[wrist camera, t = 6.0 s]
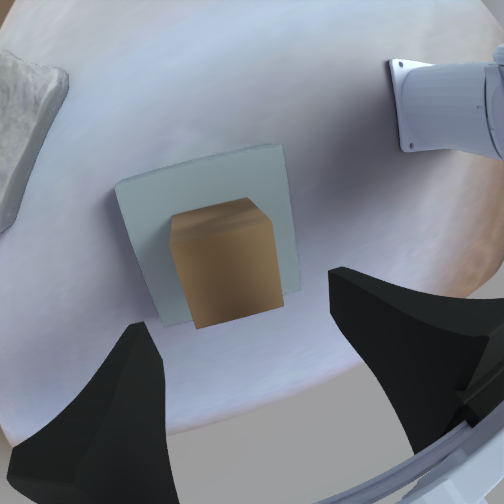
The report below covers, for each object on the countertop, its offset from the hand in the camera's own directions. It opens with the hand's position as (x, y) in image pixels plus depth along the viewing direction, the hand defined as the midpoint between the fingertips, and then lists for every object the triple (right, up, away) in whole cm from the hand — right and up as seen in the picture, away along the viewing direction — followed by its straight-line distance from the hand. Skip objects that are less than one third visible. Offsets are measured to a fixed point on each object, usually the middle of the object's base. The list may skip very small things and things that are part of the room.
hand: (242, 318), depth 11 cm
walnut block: (-2, +3, +7) cm, 8 cm away
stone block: (-18, +11, +3) cm, 21 cm away
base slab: (-3, +4, +10) cm, 11 cm away
